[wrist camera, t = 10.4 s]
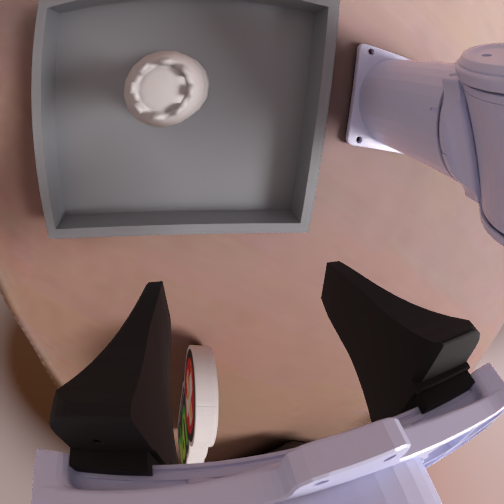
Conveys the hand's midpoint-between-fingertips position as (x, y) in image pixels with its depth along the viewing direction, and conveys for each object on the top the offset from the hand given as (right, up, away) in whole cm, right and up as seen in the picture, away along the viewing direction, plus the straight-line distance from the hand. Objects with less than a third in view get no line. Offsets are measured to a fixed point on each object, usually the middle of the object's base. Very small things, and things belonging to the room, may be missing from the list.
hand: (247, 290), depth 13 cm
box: (-5, +11, +4) cm, 13 cm away
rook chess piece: (-5, +12, +3) cm, 13 cm away
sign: (-7, -14, +20) cm, 26 cm away
